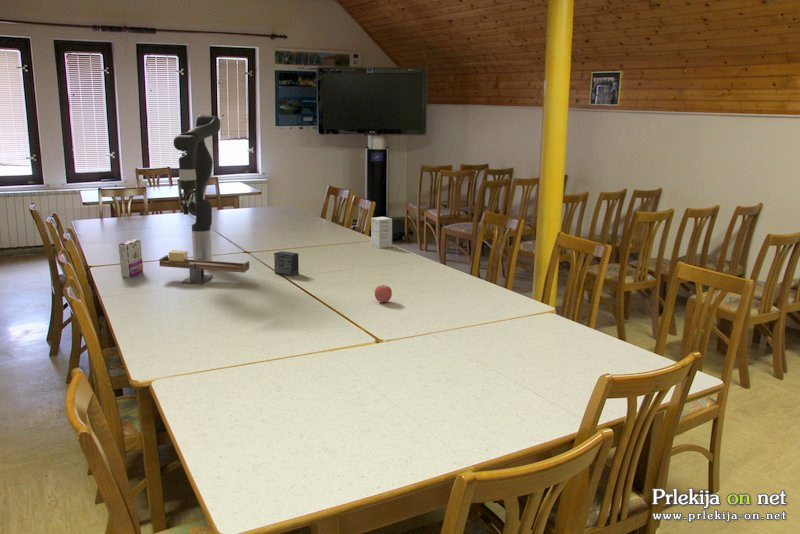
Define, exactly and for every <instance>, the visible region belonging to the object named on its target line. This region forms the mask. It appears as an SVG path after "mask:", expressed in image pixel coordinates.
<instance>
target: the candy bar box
mask: <svg viewBox="0 0 800 534" xmlns="http://www.w3.org/2000/svg"><path fill="white" fill-rule="evenodd" d="M118 252H119V262H120V264H119V265H120V272H121V277H122V278H133V277H135V276H138V275H140V274H141V273H144V270H143V269H144V267H143V266H144V265H143V257H142V245H141V239H139V238H138V239H135V238H132V239H129V240H125V241H123V242H120V243H118Z"/></svg>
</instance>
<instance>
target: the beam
mask: <svg viewBox="0 0 800 534" xmlns="http://www.w3.org/2000/svg"><path fill="white" fill-rule="evenodd" d="M158 260H159V267H163V268H164V267H165V268H178V269H188V270H189V264H195V269H201V270H204V271H216V272H229V273H243V274H244V273H246V272H247V271H249V269H250V261H246V262H244V263H242V262H231V261H230V262H228V261H219V260H218V261H216V260H215V261H213V260H212V261H204V260H193V259H188V262H186V263H180V262H169V254H168V255H167V254H166V255H164V256H163V257H162V256H161V258H159V259H158Z"/></svg>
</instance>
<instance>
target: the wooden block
mask: <svg viewBox="0 0 800 534" xmlns="http://www.w3.org/2000/svg"><path fill="white" fill-rule="evenodd" d="M188 254H189V253H188V250H179V249H178V250H176V249H175V250H174V249H173V250H171V251H169V252H168V258H169V262H180V263H186V262H188V258H189V255H188Z"/></svg>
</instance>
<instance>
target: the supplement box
mask: <svg viewBox="0 0 800 534" xmlns="http://www.w3.org/2000/svg"><path fill="white" fill-rule="evenodd" d="M370 223H371V224H370V231H371V233H370V234H371V236H370V246H372V247H375V248H378V249H383V248H384V249H385V248H392V247H393V218H391V217H388V216H387V217H386V216H377V217H371V219H370ZM390 245H391V246H390Z"/></svg>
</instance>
